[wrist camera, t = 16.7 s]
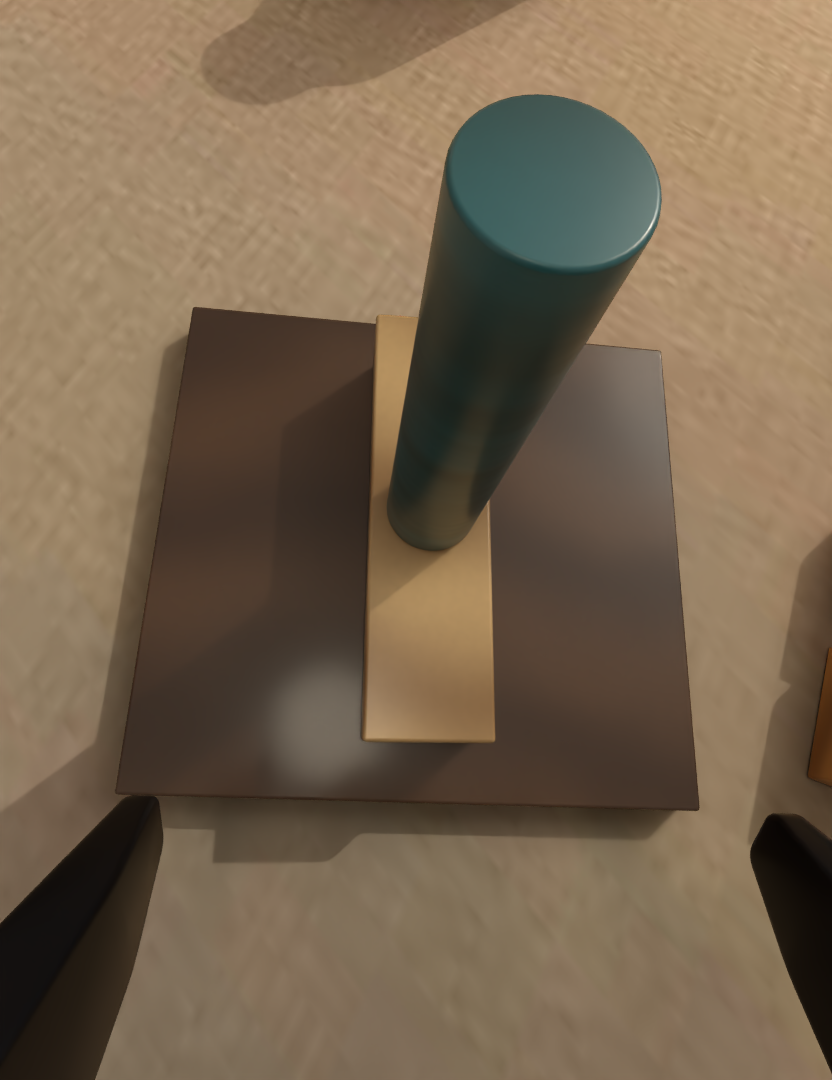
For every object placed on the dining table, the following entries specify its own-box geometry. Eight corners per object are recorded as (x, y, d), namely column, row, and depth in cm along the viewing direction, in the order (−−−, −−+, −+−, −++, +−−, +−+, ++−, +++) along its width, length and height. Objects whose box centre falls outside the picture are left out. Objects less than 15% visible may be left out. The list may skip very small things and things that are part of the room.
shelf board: (681, 806, 18) (700, 811, 17) (127, 791, 16) (113, 794, 16) (648, 366, 22) (661, 349, 21) (199, 325, 20) (192, 305, 20)
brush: (474, 741, 17) (788, 772, 5) (359, 740, 16) (392, 771, 5) (469, 371, 20) (650, -163, 8) (372, 365, 20) (411, -199, 8)
